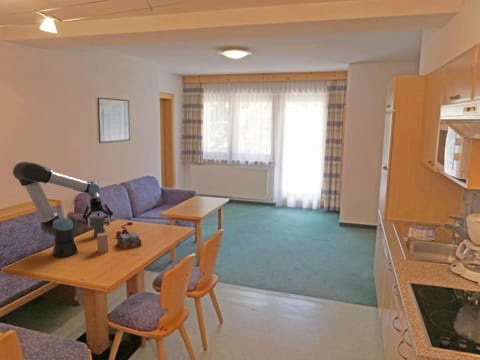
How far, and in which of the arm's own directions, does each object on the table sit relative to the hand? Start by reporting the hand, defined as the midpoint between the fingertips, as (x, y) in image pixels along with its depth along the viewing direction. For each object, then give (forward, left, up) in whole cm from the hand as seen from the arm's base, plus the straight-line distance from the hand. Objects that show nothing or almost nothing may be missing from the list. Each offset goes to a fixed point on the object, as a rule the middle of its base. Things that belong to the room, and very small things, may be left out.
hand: (99, 225), depth 256 cm
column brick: (-4, -10, -16) cm, 19 cm away
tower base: (+15, -12, -16) cm, 25 cm away
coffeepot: (+13, +25, -16) cm, 32 cm away
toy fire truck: (+25, +11, -16) cm, 32 cm away
